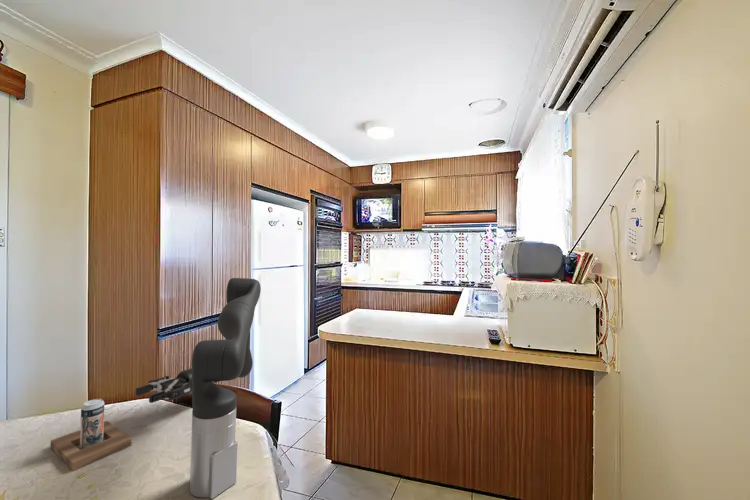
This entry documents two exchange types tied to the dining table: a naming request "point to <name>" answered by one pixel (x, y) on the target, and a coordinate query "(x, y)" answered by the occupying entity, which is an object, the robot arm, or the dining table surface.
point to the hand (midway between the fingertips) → (142, 395)
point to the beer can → (92, 423)
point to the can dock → (79, 458)
